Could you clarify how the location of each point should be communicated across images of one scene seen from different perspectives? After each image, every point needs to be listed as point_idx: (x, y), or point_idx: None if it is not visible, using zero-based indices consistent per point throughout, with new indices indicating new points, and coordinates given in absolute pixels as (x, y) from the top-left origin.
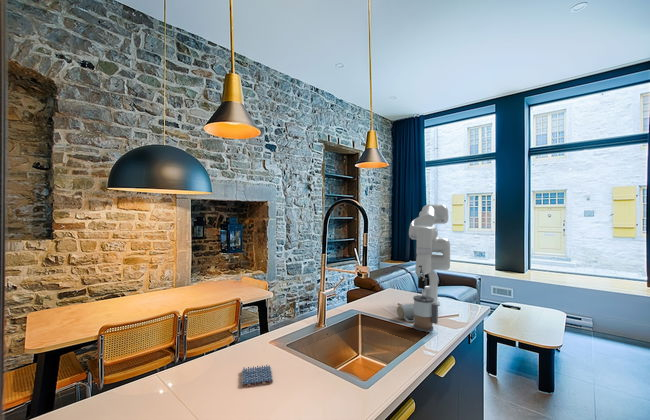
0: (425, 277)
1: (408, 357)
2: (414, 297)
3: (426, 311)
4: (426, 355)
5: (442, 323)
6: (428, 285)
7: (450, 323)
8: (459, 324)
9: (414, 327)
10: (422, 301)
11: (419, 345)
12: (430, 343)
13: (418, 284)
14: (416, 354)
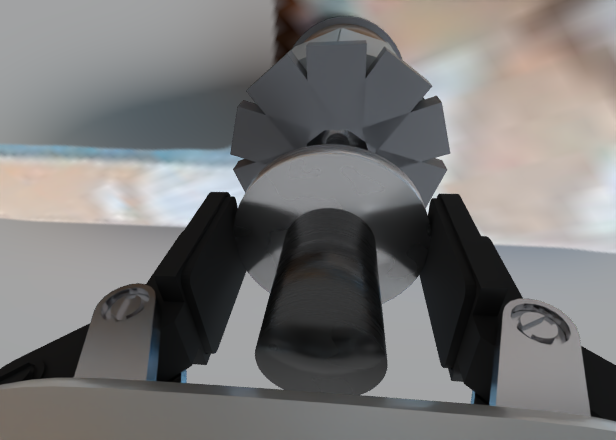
0: (360, 379)
1: (11, 161)
2: (278, 74)
3: None
4: (87, 202)
5: (494, 145)
6: (387, 288)
7: (518, 179)
8: (525, 216)
9: (294, 45)
10: (242, 179)
11: (130, 154)
12: (188, 181)
13: (194, 227)
14: (57, 174)
